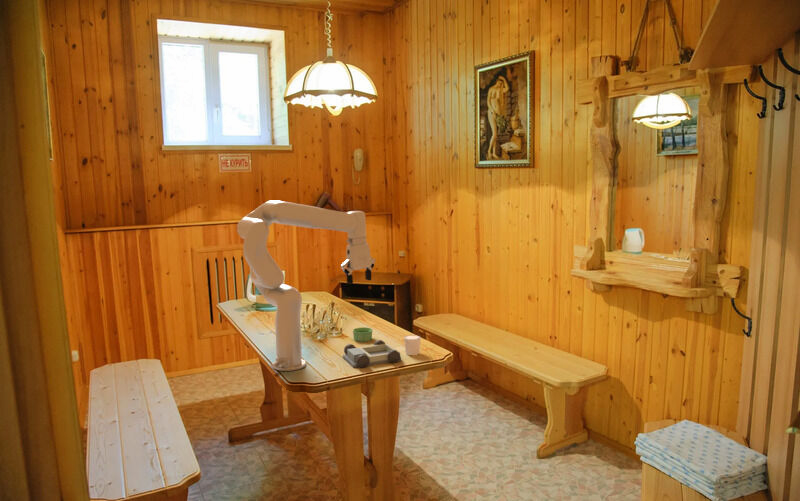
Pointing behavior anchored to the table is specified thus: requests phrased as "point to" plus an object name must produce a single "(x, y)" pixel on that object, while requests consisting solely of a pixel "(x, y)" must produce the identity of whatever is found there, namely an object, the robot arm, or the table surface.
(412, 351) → the pale pink cup
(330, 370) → the table surface
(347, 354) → the chassis
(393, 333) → the table surface
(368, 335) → the ramekin
